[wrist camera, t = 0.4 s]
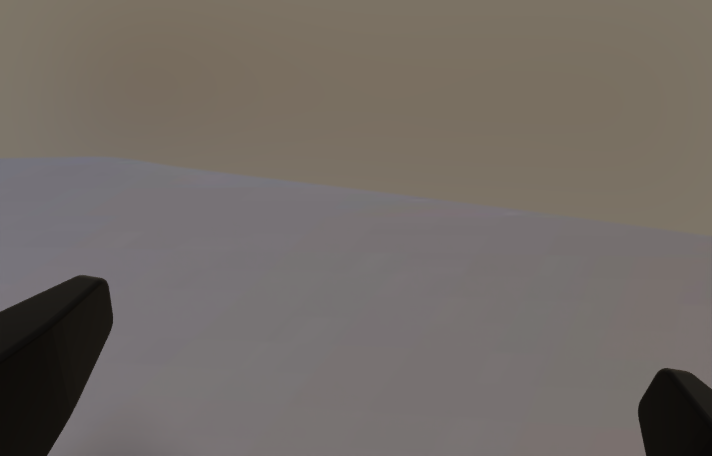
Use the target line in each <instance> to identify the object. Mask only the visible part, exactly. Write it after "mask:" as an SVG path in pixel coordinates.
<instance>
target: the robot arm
mask: <svg viewBox="0 0 712 456" xmlns="http://www.w3.org/2000/svg"><path fill="white" fill-rule="evenodd" d="M112 324H113V312H112V306H111V299H110V292H109V286H108V283H107V281H106V280H104V279H103V278H98V277H92V276H86V275H79V276H76V277H74V278H72V279H69V280H67V281H65V282H63V283H61V284H59V285H57V286H54V287H52V288H50V289H48V290H46V291H44V292H42V293H39V294H37V295H35V296H33V297H31V298H29V299H27V300H24V301H22V302H20V303H18V304H16V305H14V306H12V307H9V308H7V309H5V310H3V311H1V312H0V456H47V455H48V453H49V451H50V450H51V448H52V447H53V445H54V443H55V442H56V440H57V438H58V437H59V435H60V433H61V432H62V430H63V428H64V427H65V425H66V423H67V421H68V420H69V418H70V416H71V414H72V412H73V410H74V408H75V406H76V404H77V402H78V400H79V398H80V396H81V394H82V392H83V390H84V387H85V385H86V383H87V381H88V379H89V377H90V375H91V372H92V370H93V368H94V366H95V364H96V362H97V359H98V357H99V355H100V353H101V351H102V349H103V346H104V344H105V342H106V340H107V338H108V336H109V334H110V331H111V328H112ZM638 417H639V423H640V428H641V433H642V438H643V442H644V447H645V452H646V456H712V389H711V388H709V387H708V386H707V385H706V384H705V383H703V382H702V381H701V380H700V379H698V378H697V377H696V376H695V375H693V374H692V373H690V372H687V371H682V370H676V369H670V368H664V369H661V370H660V371H658V372H657V374H656V375H655V377H654V379H653V380H652V382H651V384H650V385H649V387H648V389H647V390H646V392H645V394H644V395H643V397H642V399H641V401H640V403H639V407H638Z"/></svg>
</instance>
